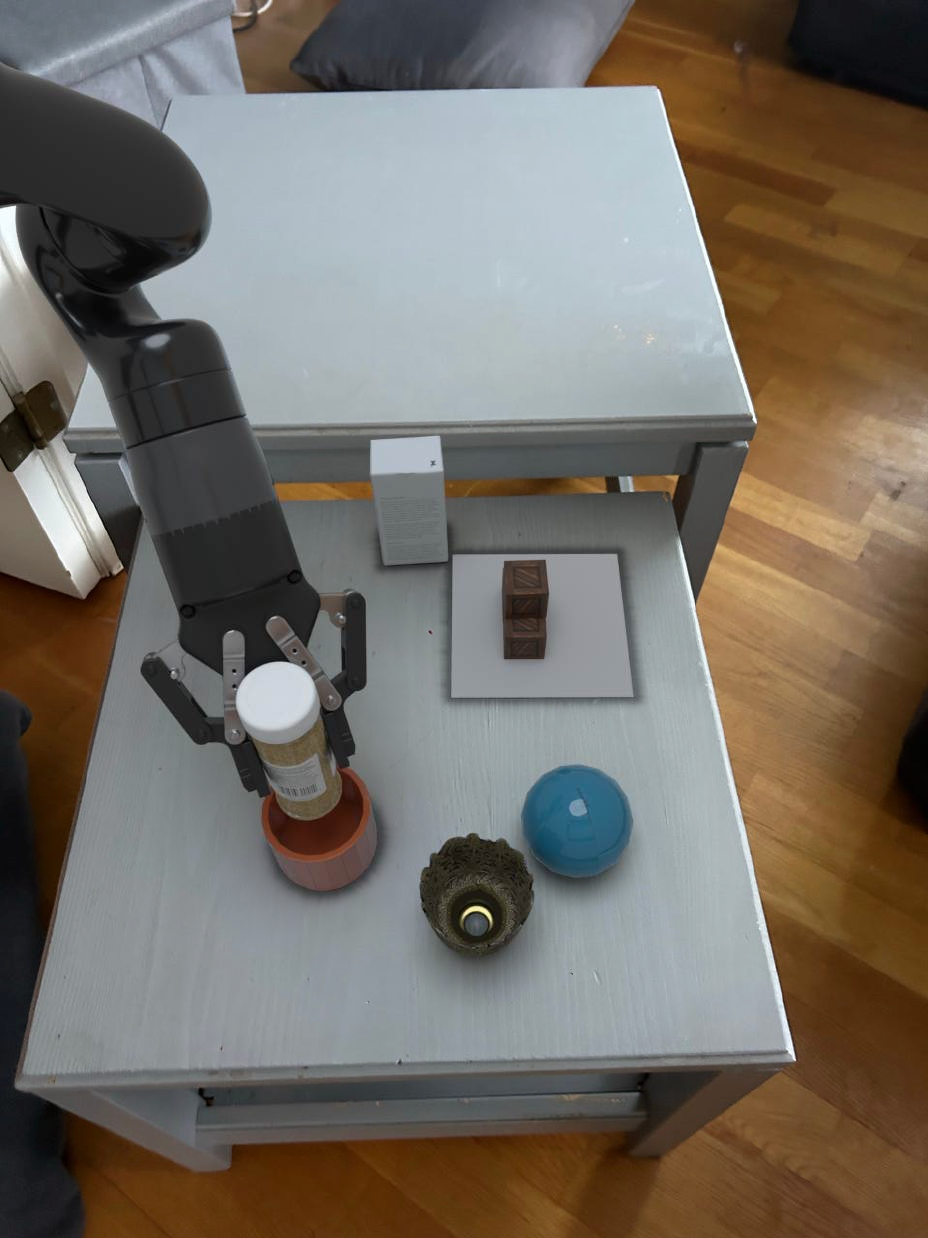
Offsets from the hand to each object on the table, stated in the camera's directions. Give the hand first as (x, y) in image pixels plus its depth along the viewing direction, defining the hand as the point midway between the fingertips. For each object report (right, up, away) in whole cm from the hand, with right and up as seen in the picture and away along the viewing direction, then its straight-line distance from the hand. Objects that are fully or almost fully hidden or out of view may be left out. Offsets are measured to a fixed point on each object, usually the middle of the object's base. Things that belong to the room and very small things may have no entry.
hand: (304, 777), depth 58 cm
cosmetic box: (+5, +16, +29) cm, 34 cm away
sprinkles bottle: (-1, -2, +6) cm, 7 cm away
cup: (+11, -12, +9) cm, 19 cm away
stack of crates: (+16, +9, +24) cm, 31 cm away
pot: (-1, -7, +13) cm, 15 cm away
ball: (+18, -7, +13) cm, 23 cm away
